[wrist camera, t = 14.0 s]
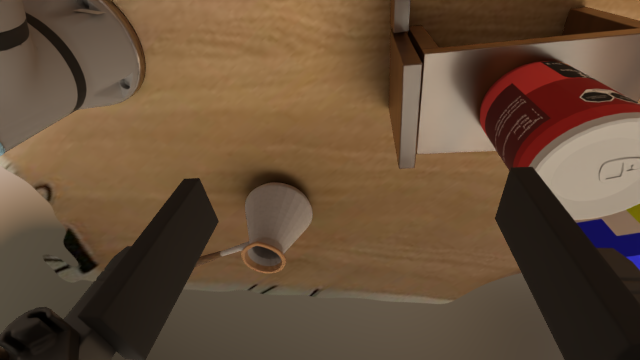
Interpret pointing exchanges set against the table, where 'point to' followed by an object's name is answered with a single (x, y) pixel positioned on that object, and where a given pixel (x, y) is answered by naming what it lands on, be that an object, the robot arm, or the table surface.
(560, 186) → the canned food
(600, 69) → the step shelf
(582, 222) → the puzzle toy
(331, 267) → the table surface
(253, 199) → the coffee pot
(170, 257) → the robot arm
